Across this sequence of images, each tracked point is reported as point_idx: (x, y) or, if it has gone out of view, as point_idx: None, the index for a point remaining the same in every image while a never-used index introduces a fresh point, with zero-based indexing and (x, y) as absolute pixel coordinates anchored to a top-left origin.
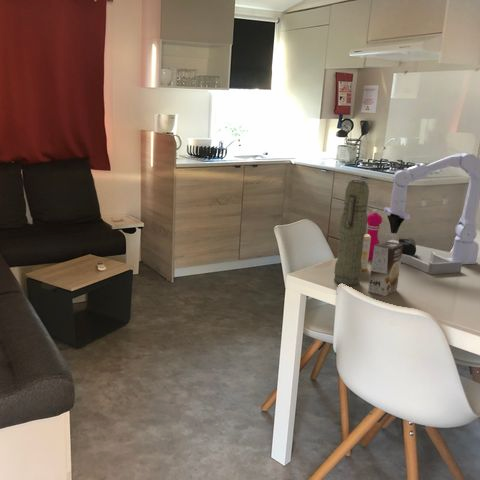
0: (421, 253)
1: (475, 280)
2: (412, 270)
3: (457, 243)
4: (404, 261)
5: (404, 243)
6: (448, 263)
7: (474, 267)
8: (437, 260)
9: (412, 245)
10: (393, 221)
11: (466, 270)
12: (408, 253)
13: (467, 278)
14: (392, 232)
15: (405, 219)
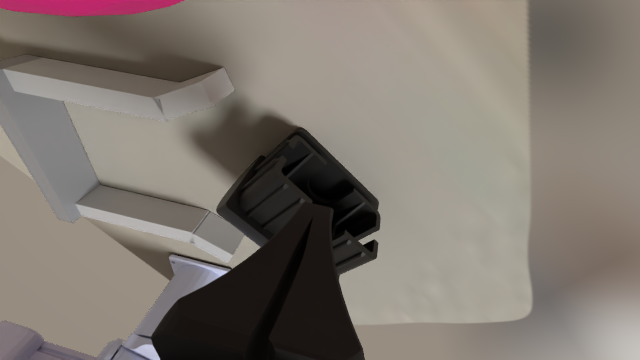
0: None
1: (9, 162)
2: None
3: (156, 327)
4: (192, 78)
5: (257, 196)
6: (24, 161)
7: (151, 265)
8: (178, 214)
9: (219, 206)
10: (230, 283)
11: None
12: (249, 169)
13: None
14: (306, 206)
15: (3, 321)
